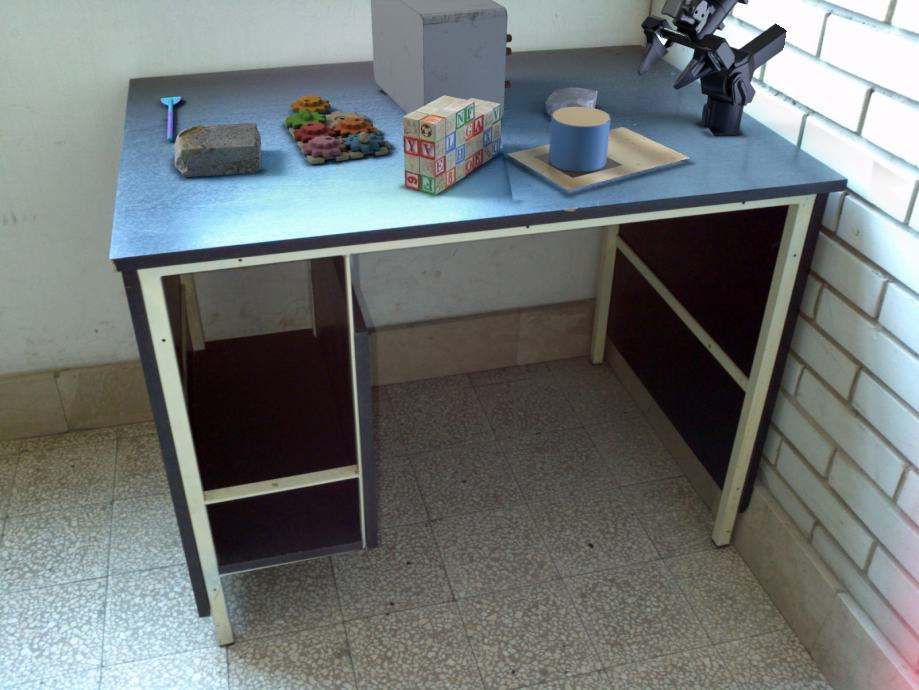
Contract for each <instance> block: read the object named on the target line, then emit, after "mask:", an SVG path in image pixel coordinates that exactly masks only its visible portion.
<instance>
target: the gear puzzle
mask: <svg viewBox="0 0 919 690" xmlns="http://www.w3.org/2000/svg"><path fill="white" fill-rule="evenodd" d="M331 108H332V105H331V104H330V101H329V100H328V99H325V98H323V99H322V98H321V96H318V95H316V94H313V95H312V94H311V95H310V94H307V95H302V96H301V97H299V98H296V100H295V101H294V102H291V103H290V109H291V112H292V113H293V114H292V115H289V116H288V117H285V119H284V121H283V122H284V126H285V127H286V128H289V130H288V131H289V133H290V135H291V136H292V139H293V140H294V141H295V142H297V147H299V149H301V153H302V154H303V155H304V156H306V160H307V162H308V163H309V164H311V165H317V164H324V163H325V160H335V161H336V162H340V161H346V160H349V159H353V160H354V159H355V160H356V159H362V158H364V156H365V155H371V154H374V155H375V156H382V155H387V154H388V153H389V149H391V148H392V147H391V146H392V144H391V143H390V142H389V141H388V140H385V137H384V136H383V135H380V130H379V129H378V128H377V127H376V126H374V123H373V122H369V118H368V117H367V115H365V114H363V115H359V114H358V113H357V112H356V111H348V112H343V111H342V110H339V111H338V110H337V111H331V113H330V114H324V113H326V111H327V110H330V109H331Z"/></svg>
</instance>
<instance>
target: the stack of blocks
mask: <svg viewBox="0 0 919 690" xmlns="http://www.w3.org/2000/svg"><path fill="white" fill-rule="evenodd" d="M402 117H403V118H402V122H403V124H402V125H403V136H402V137H403V153H404V154H403V155H404V156H403V157H404V186H405V188H408V189H411V190H414V191H415V190H416V191H419V192H423V193H426V194H430V195H433V196H437V195H438V194H439V193H441V192H443V191H445V190H446V189H448V188H449V187H451V186H452V185H454V184H456V183H457V182H458V181H459V182H460V181H461V180H462V179H463V178H464V177H466V176H467V175H468V174H470V173H472V172H473V171H474V170H476V169H478V168H479V167H481V166H482V165H484V164H485V163H487V162H488V161H490V160H492V159H493V158H495V157H496V156H498V155H499V154H500V153H501V136H502V121H501V120H502V119H501V104H499V103H494V102H490V101H484V100H479V99H474V98H470V99H469V100H465V99H460V98H454V97H450V96H445V95H444V96H442V97H440V98H438V99H436V100H435V101H433V102H431V103H429V104H427V105H426V106H423V107H421V108H420V109H418V110H416V111H415V112H411V113H409V114H405V115H403V116H402Z"/></svg>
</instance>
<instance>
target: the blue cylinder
mask: <svg viewBox="0 0 919 690" xmlns="http://www.w3.org/2000/svg"><path fill="white" fill-rule="evenodd" d="M611 120H612V118H611V115H610V114H609V113H608V112H606V111H604V110H601V109H598V108H595V109H594V108H589V107H566V108H562V109H558V110H556V111H554V112H553V113H552V116H551V120H550V133H549V134H550V135H549V144H550V147H549V162H550V163H551V164H552V165H553V166H555V167H557V168H559V169H562V170H566V171H572V172H589V171H595V170H598V169H601V168H602V167H604V166H605V164H606V158H607V149H608V140H609V130H611Z"/></svg>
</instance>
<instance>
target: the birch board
mask: <svg viewBox="0 0 919 690" xmlns="http://www.w3.org/2000/svg"><path fill="white" fill-rule="evenodd" d="M549 147H550V143H548V144H544V145H538V146H535V147H530V148H527V149H523V150H519V151H514V152H510V153H506V155H508V156H509V157H511V158H512V159H514V160H516V161H518V162H519V163H521V164H523V165H525V166H527V167H528V168H529V169H532V170H533V171H535V172H536V173H538V174H540V175H542V176H544V177H545V178H547V179H548V180H551V181H552V182H554V183H556V184H557V185H559V186H561V187H562V188H563V189H566V190H567V191H571V190H575V189H579V188H582V187H586V186H589V185H593V184H597V183H601V182H605V181H608V180H612V179H616V178H619V177H623V176H627V175H631V174H634V173H635V174H636V173H638V172H643V171H646V170H650V169H653V168H656V167H661V166H665V165H668V164H673V163H676V162H679V161H684V160H687V159H688V160H689V159H690V157H689V156H687V155H684V154H683V153H680V152H679V151H676V150H674V149H672V148H670V147H667V146H665V145H663V144H661V143H659V142H657V141H654V140H653V139H650V138H648V137H646V136H644V135H642V134H639V133H638V132H635V131H633V130H631V129H629V128H627V127H624V126H621V127H616V128H610V130H609V140H608V149H607V158H606V164H605V166H604V167H602V168H601V169H598V170H595V171H589V172H572V171H566V170H562V169H559V168H557V167H555V166H553V165H552V164H551V163H550V162H549Z"/></svg>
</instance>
